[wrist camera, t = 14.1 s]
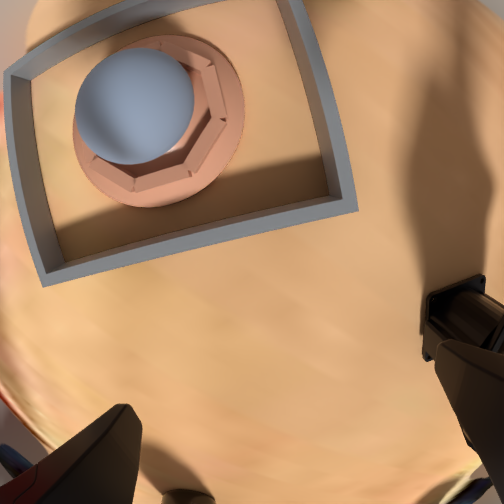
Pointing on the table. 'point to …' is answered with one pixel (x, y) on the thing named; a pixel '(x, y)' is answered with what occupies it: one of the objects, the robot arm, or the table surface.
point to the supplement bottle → (186, 497)
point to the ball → (134, 106)
